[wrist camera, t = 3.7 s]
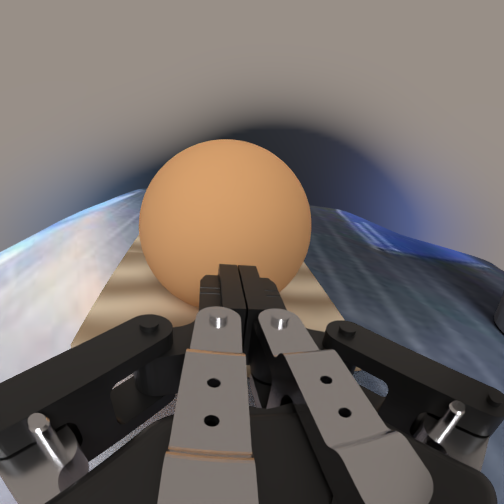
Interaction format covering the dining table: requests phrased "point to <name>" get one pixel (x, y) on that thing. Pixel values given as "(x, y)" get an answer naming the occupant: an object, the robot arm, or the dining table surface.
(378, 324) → the dining table surface
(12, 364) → the dining table surface
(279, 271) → the ball
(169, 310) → the board
